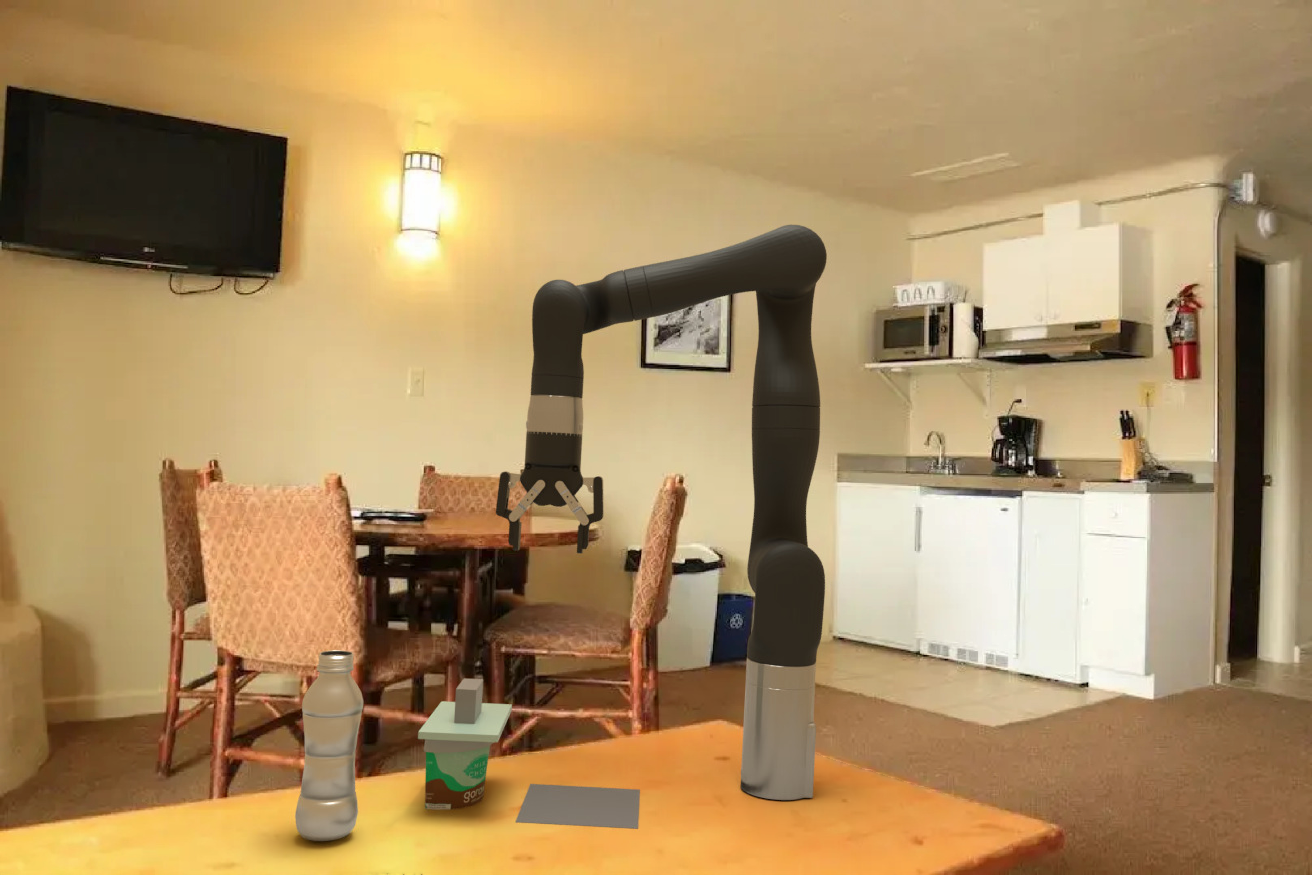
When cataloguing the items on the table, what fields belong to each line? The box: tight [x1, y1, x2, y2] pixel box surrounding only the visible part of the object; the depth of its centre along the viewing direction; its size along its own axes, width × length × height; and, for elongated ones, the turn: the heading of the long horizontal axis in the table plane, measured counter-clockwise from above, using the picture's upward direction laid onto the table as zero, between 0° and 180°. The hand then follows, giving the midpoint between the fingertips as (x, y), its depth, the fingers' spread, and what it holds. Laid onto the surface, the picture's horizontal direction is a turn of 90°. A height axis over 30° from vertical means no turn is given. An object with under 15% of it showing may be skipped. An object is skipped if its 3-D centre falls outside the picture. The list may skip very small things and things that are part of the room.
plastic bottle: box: [294, 649, 364, 842], centre depth 112 cm, size 6×7×20 cm
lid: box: [417, 678, 513, 743], centre depth 124 cm, size 9×15×5 cm, turn 2°
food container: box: [423, 739, 495, 811], centre depth 124 cm, size 12×6×10 cm, turn 169°
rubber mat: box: [515, 783, 641, 830], centre depth 123 cm, size 14×14×1 cm
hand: (547, 551), depth 137 cm, fingers open, 8 cm apart
